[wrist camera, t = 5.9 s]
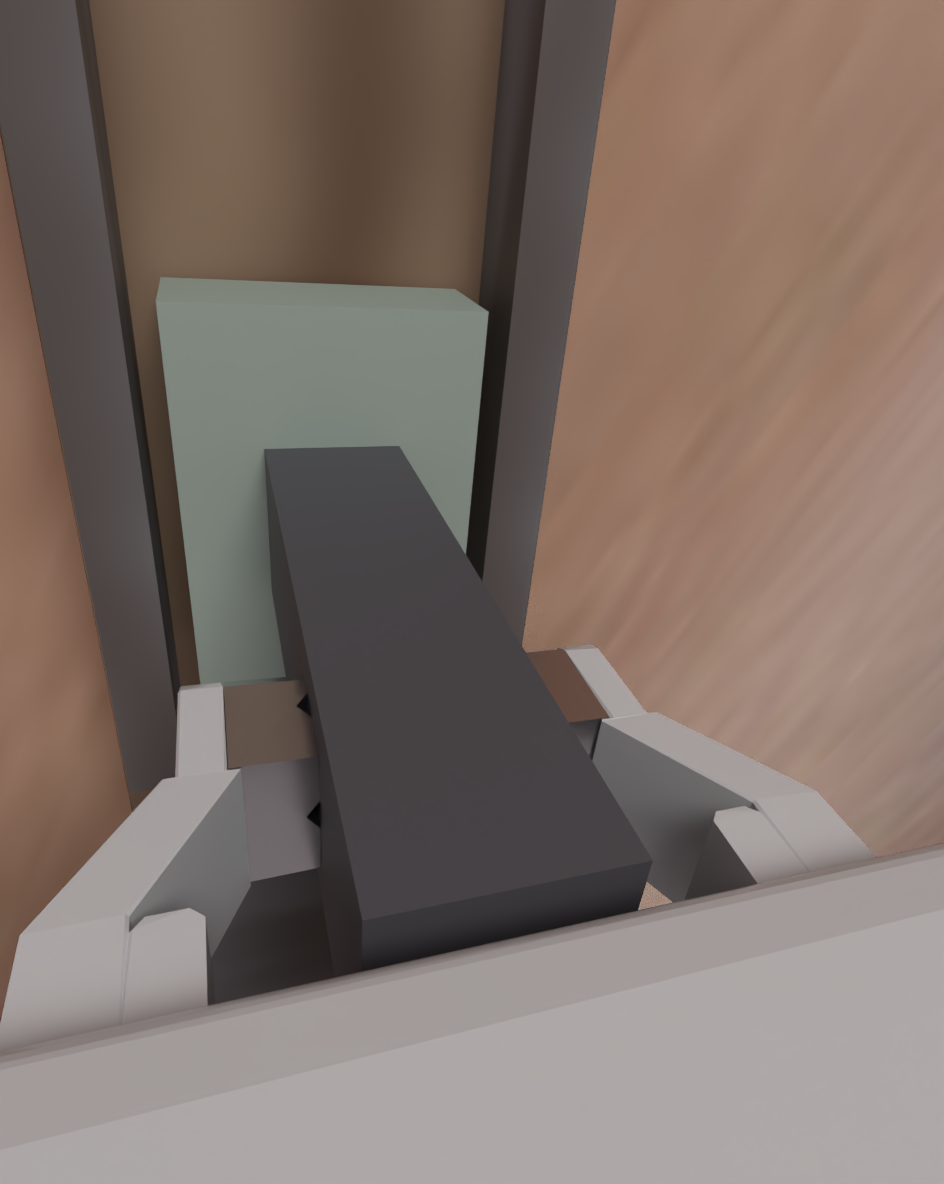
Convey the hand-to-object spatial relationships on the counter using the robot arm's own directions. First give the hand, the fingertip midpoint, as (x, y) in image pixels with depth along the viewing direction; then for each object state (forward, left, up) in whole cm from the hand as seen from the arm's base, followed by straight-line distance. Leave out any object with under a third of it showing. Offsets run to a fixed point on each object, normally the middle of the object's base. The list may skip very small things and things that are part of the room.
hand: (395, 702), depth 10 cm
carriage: (0, 0, -8) cm, 8 cm away
